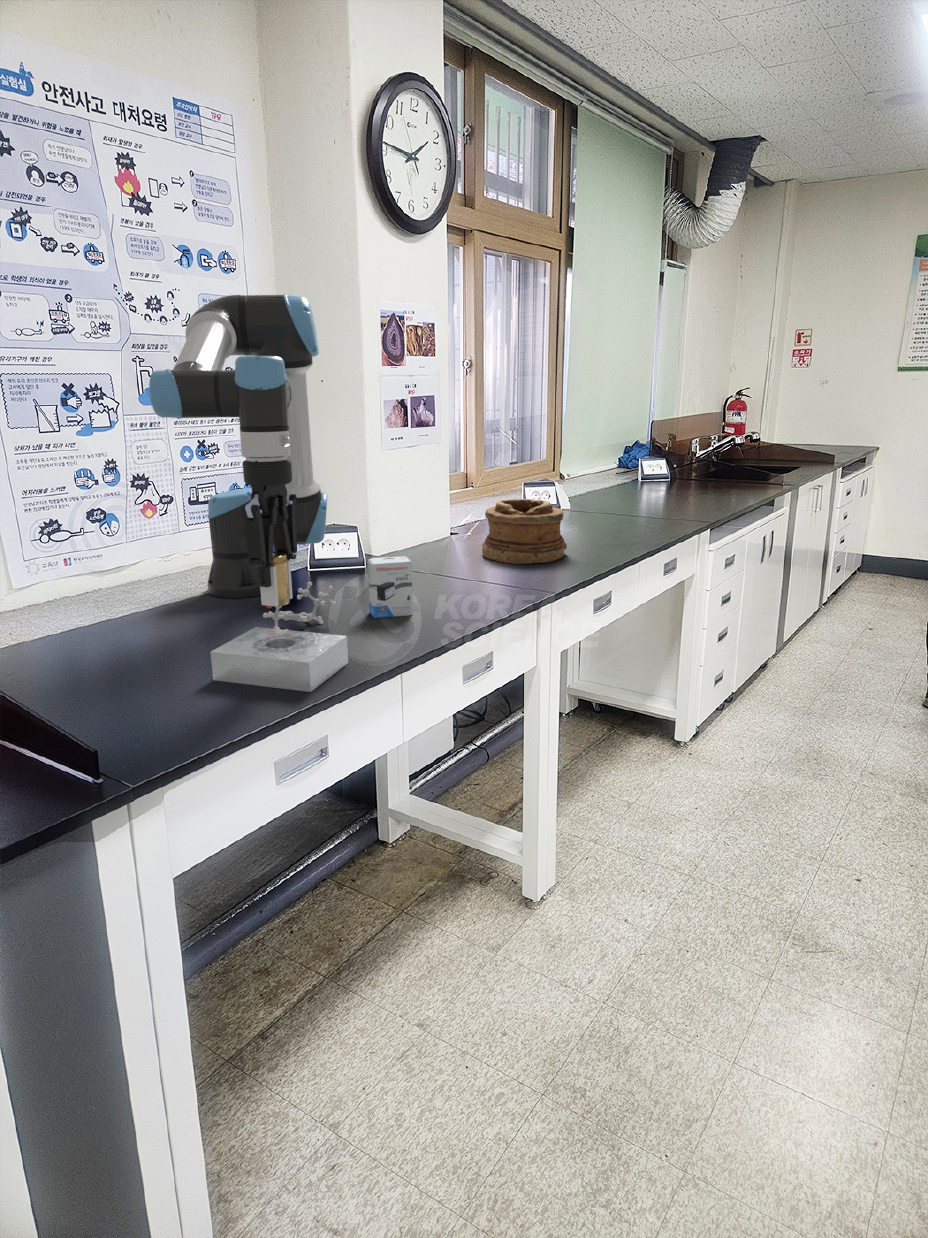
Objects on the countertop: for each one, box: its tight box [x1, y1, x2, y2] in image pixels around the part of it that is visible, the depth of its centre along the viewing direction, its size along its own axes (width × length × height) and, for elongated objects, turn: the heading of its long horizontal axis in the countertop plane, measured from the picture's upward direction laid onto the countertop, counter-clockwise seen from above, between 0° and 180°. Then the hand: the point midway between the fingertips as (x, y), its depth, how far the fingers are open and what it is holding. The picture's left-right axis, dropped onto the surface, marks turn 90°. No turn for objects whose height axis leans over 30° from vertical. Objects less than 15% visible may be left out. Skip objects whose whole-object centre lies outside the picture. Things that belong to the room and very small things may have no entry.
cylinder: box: [272, 552, 290, 607], centre depth 132 cm, size 4×4×8 cm
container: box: [481, 498, 568, 565], centre depth 221 cm, size 22×24×15 cm
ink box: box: [367, 555, 414, 619], centre depth 168 cm, size 8×5×12 cm, turn 105°
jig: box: [210, 626, 349, 693], centre depth 136 cm, size 18×14×5 cm
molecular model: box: [262, 581, 337, 630], centre depth 158 cm, size 19×10×10 cm, turn 148°
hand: (277, 601), depth 133 cm, fingers closed on cylinder, 4 cm apart
